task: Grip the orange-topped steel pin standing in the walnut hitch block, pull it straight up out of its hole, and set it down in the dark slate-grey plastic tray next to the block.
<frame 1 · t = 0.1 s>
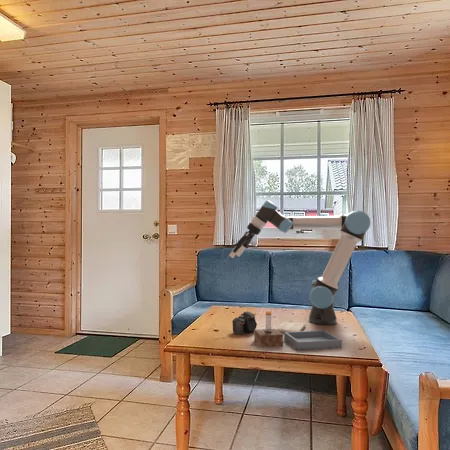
hand: (234, 256, 208), 36 cm above the table, tool tilted 35°, fingers open, 13 cm apart
tray: (311, 343, 164), on the table
washcloth: (291, 331, 188), on the table
camera: (245, 332, 183), on the table
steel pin: (268, 327, 165), in the hitch block
hitch block: (268, 343, 164), on the table
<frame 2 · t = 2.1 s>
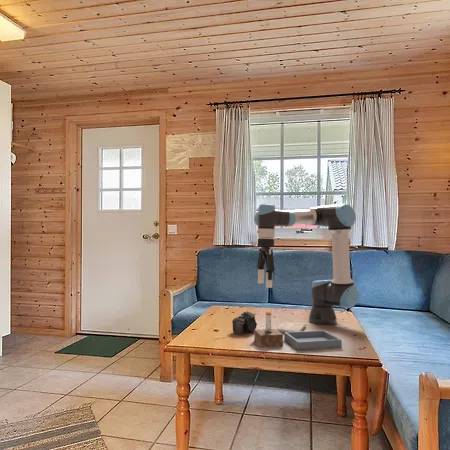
hand: (264, 285, 167), 25 cm above the table, tool pointing down, fingers open, 13 cm apart
nothing on the table moved.
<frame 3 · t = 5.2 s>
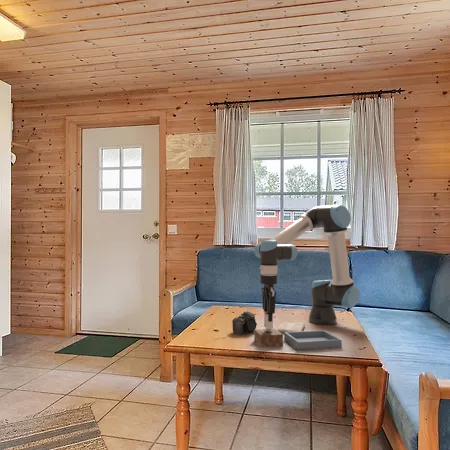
hand: (268, 327, 165), 7 cm above the table, tool pointing down, fingers closed on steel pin, 2 cm apart
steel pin: (268, 327, 165), in the hitch block, touching gripper
everything else where it was.
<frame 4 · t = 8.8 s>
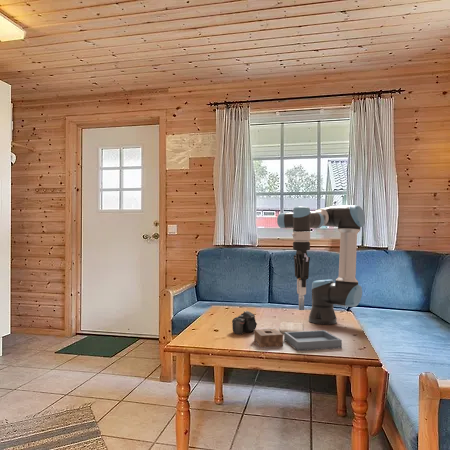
hand: (301, 293, 165), 22 cm above the table, tool pointing down, fingers closed on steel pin, 2 cm apart
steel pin: (301, 293, 165), point 22 cm above the table, touching gripper
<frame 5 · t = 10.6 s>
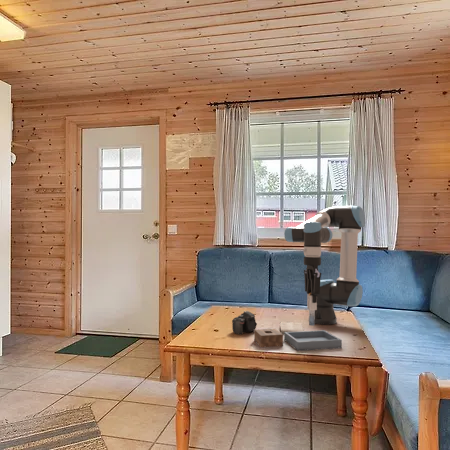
hand: (311, 309, 165), 15 cm above the table, tool pointing down, fingers closed on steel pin, 2 cm apart
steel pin: (311, 309, 165), point 15 cm above the table, touching gripper
when the fingers open (9 cm above the table, at t = 12.3 s): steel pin stays where it is, resting on tray.
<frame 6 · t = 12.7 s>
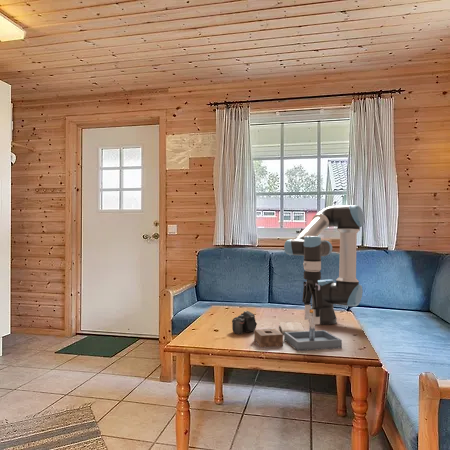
hand: (312, 321, 165), 10 cm above the table, tool pointing down, fingers open, 8 cm apart
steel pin: (312, 325, 164), in the tray, point 8 cm above the table
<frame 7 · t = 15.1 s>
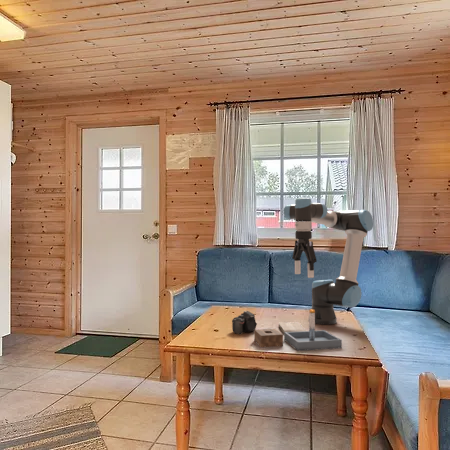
hand: (304, 275, 174), 29 cm above the table, tool pointing down, fingers open, 13 cm apart
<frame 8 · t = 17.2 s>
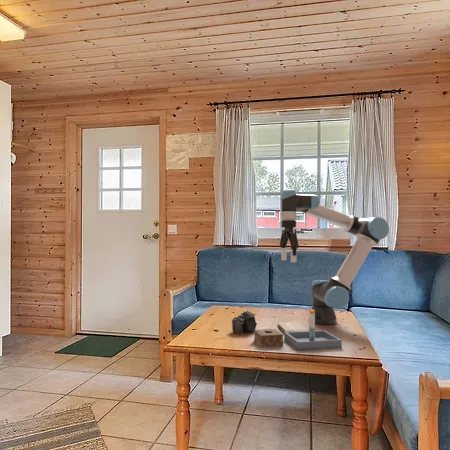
hand: (288, 261, 190), 35 cm above the table, tool pointing down, fingers open, 13 cm apart
at the end: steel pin inside the target area on the tray (0.0 cm from its centre), point 8.0 cm above the tray's base; the gripper is holding nothing; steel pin touching tray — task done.
